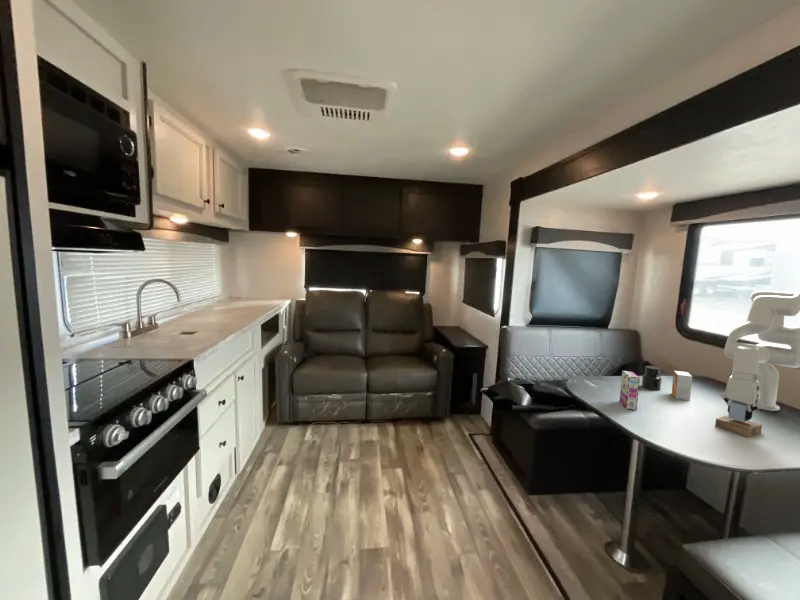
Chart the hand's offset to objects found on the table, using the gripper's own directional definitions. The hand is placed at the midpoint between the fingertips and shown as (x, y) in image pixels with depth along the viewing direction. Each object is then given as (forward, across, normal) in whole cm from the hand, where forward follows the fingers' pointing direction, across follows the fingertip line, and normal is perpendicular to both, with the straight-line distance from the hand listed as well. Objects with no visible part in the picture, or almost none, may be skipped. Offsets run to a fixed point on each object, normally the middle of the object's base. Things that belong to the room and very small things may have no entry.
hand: (739, 416), depth 155 cm
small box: (+6, +32, -20) cm, 38 cm away
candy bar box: (+6, +36, +18) cm, 41 cm away
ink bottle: (+6, +47, -20) cm, 51 cm away
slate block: (+1, 0, 0) cm, 1 cm away
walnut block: (+6, 0, 0) cm, 6 cm away
